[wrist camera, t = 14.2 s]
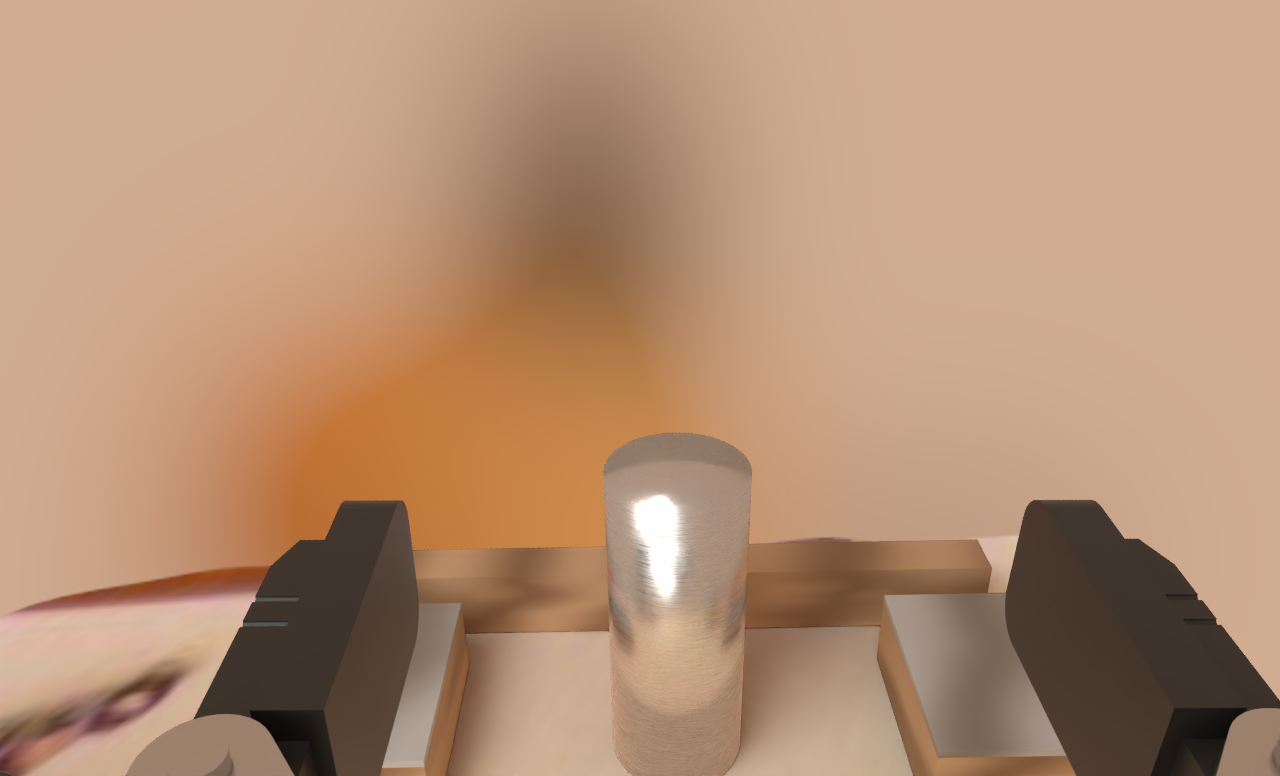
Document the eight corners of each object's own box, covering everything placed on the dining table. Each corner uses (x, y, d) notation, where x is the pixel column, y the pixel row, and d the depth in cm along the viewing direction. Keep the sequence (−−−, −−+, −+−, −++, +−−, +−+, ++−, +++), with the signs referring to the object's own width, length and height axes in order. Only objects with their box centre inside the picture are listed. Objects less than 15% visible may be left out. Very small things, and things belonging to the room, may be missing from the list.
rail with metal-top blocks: (290, 831, 34) (272, 763, 33) (372, 604, 45) (361, 545, 43) (1072, 817, 34) (1090, 749, 33) (967, 593, 45) (978, 534, 43)
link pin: (612, 790, 35) (601, 513, 30) (614, 692, 40) (605, 433, 34) (746, 788, 35) (759, 510, 30) (734, 690, 40) (744, 431, 34)
